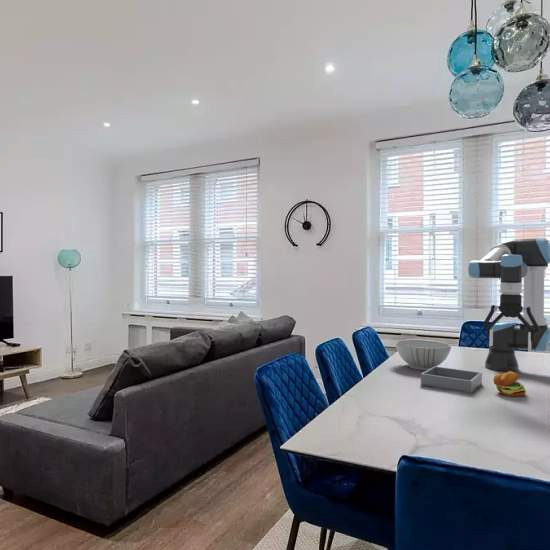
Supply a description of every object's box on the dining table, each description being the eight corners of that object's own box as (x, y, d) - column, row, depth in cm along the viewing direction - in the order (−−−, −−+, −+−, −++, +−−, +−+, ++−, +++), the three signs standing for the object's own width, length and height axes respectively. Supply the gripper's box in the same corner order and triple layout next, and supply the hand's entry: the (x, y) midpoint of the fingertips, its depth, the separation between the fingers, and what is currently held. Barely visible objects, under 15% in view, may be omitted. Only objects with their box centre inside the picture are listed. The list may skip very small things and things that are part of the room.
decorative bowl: (423, 375, 204) (423, 349, 204) (383, 364, 228) (384, 341, 228) (463, 370, 217) (463, 345, 217) (421, 360, 241) (422, 338, 240)
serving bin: (434, 377, 202) (434, 366, 202) (481, 384, 190) (481, 372, 190) (420, 385, 187) (420, 373, 187) (471, 393, 175) (471, 381, 175)
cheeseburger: (531, 398, 169) (525, 372, 169) (502, 403, 171) (495, 377, 172) (522, 390, 179) (516, 366, 179) (494, 395, 181) (488, 371, 181)
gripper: (474, 292, 179) (474, 345, 180) (546, 295, 165) (545, 352, 165) (478, 292, 185) (478, 342, 186) (548, 294, 171) (547, 349, 171)
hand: (509, 347), depth 175 cm, fingers open, 13 cm apart
